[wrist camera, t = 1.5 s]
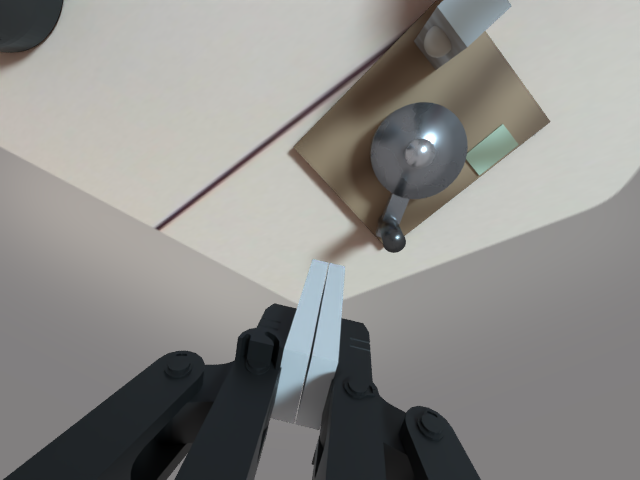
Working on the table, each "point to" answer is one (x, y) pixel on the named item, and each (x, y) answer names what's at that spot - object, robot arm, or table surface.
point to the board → (434, 87)
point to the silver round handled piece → (415, 160)
